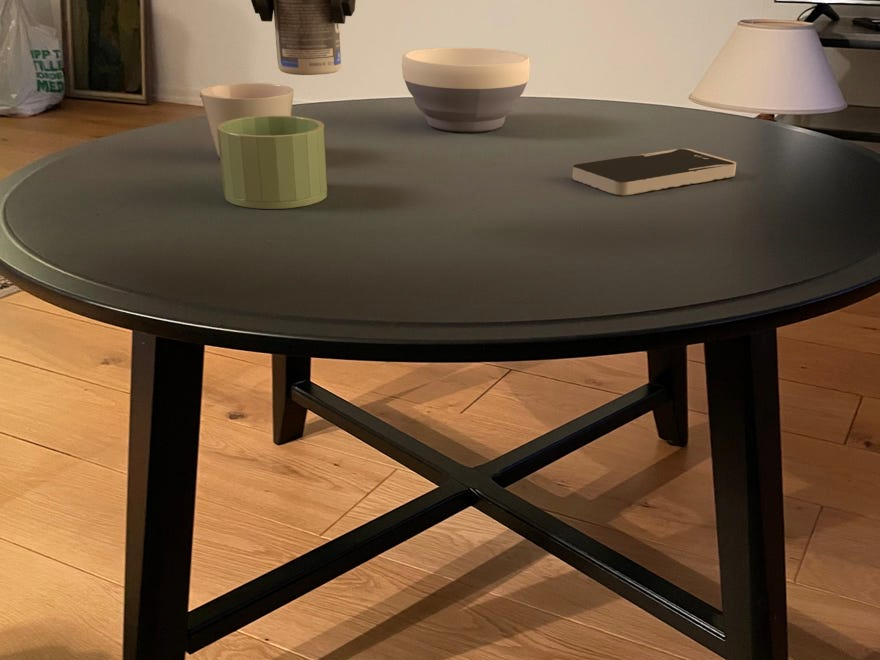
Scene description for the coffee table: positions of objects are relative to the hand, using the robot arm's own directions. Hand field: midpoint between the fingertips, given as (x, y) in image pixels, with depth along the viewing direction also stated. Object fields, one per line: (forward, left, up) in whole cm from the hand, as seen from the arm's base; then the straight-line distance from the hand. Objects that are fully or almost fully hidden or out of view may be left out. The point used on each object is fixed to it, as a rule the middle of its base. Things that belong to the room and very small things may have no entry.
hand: (301, 14), depth 74 cm
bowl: (+43, +13, -16) cm, 47 cm away
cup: (+7, +10, -16) cm, 20 cm away
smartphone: (+33, -15, -16) cm, 39 cm away
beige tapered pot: (+17, +22, -16) cm, 32 cm away
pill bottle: (+2, +1, -4) cm, 5 cm away
